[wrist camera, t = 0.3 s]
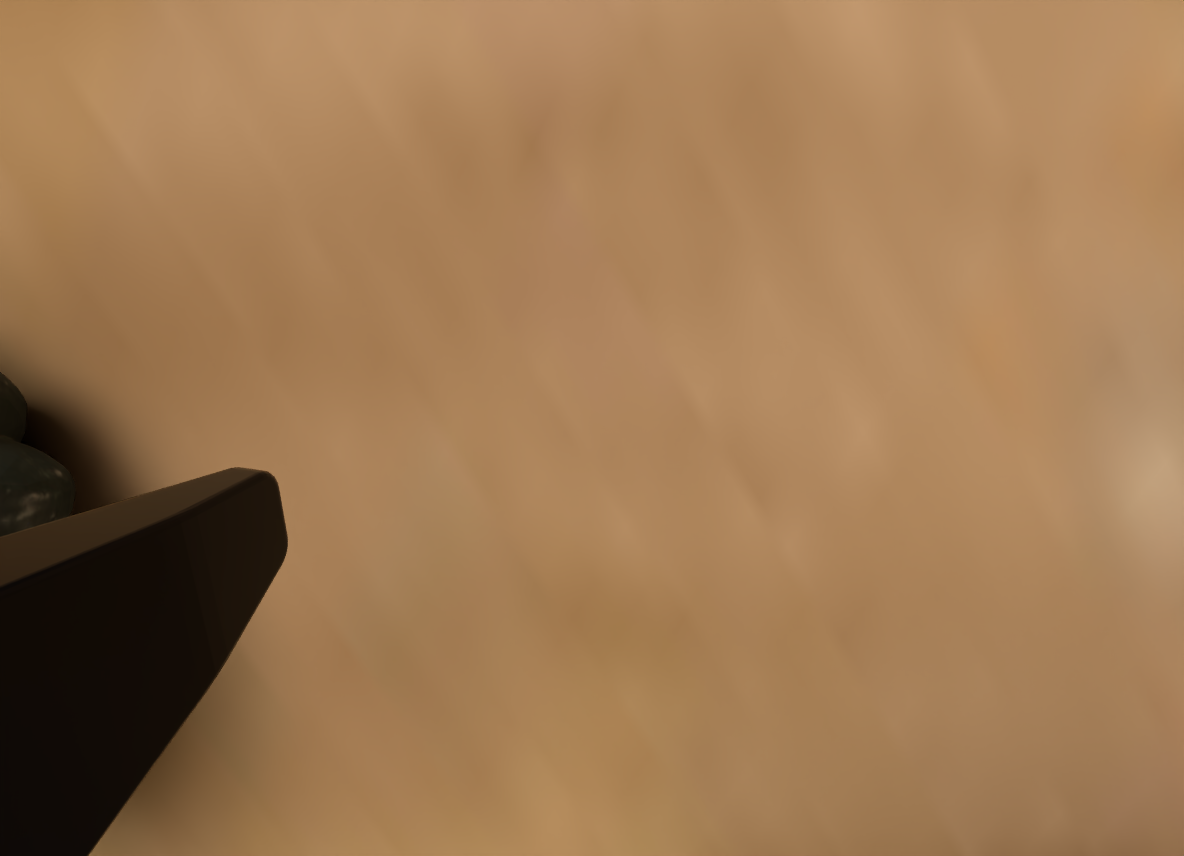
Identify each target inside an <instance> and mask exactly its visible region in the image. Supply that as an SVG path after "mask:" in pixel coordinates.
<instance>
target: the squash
mask: <svg viewBox="0 0 1184 856" xmlns="http://www.w3.org/2000/svg"><path fill="white" fill-rule="evenodd" d="M26 412H27V404H26V402H25V399H24V397H23V395H22V394H21V393H20V391H19V390H18V388H17V387H16V386H15V385H14V384H13V383H12V382H11V381H10V380H9V379H8V378H7V377H5V376H4V375H3V374H2V373H1V372H0V537H2V536H6V535H9V534H12V533H16V532H19V531H22V530H26V529H29V528H32V527H36V526H39V525H42V524H46V523H49V522H52V521H56V520H59V519H62V518H66V517H68V516H69V515H70V513H71V511H72V509H73V503H74V498H75V482H74V480H73V478H72V476H71V473H70V472H69V471H68V470H67V469H66V468H65V467H64V466H63V465H62V464H60V463H59V462H57V461H56V460H54V459H53V458H51V457H50V456H48V455H47V454H45V453H44V452H42V451H39V450H37V449H35V448H33V447H31V446H28V445H25V444H22V443H21V441H22V439H23V436H24V434H25V430H26Z"/></svg>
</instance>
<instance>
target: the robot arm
mask: <svg viewBox="0 0 1184 856" xmlns="http://www.w3.org/2000/svg"><path fill="white" fill-rule="evenodd" d="M287 547H288V537H287V531H286V525H285V519H284V514H283V508H282V502H281V497H280V491H279V486H278V482H277V481H276V479H275V477H274V476H273V475H272V474H271V473H269V472H267V471H262V470H255V469H248V468H240V467H235V468H230V469H226V470H223V471H220V472H216V473H213V474H210V475H206V476H203V477H200V478H196V479H193V480H190V481H186V482H183V483H179V484H176V485H173V486H169V487H166V488H163V489H159V490H156V491H153V492H149V493H146V494H143V495H139V496H136V497H133V498H129V499H126V500H123V501H119V502H116V503H113V504H109V505H106V506H103V507H99V508H96V509H93V510H89V511H86V512H83V513H79V514H76V515H72V516H69V517H66V518H62V519H59V520H56V521H52V522H49V523H46V524H42V525H39V526H36V527H32V528H29V529H26V530H22V531H19V532H16V533H12V534H9V535H6V536H2V537H0V856H89V854H90V853H91V852H92V850H93V849H94V847H95V846H96V845H97V843H98V842H99V840H100V839H101V838H102V836H103V835H104V833H105V832H106V831H107V829H108V828H109V827H110V825H111V824H112V822H113V821H114V820H115V818H116V817H117V815H118V814H119V813H120V811H121V810H122V808H123V807H124V806H125V804H126V803H127V802H128V800H129V799H130V797H131V796H132V795H133V793H134V792H135V790H136V789H137V788H138V786H139V785H140V783H141V782H142V781H143V779H144V778H145V777H146V775H147V774H148V772H149V771H150V770H151V768H152V767H153V765H154V764H155V763H156V761H157V760H158V758H159V757H160V756H161V754H162V753H163V752H164V750H165V749H166V747H167V746H168V745H169V743H170V742H171V740H172V739H173V738H174V736H175V735H176V733H177V732H178V731H179V729H180V728H181V727H182V725H183V724H184V722H185V721H186V720H187V718H188V717H189V715H190V714H191V713H192V711H193V710H194V708H195V707H196V706H197V704H198V703H199V702H200V700H201V699H202V697H203V696H204V694H205V693H206V692H207V690H208V689H209V687H210V686H211V684H212V683H213V681H214V680H215V678H216V677H217V675H218V674H219V672H220V670H221V669H222V667H223V665H224V664H225V662H226V661H227V659H228V657H229V656H230V654H231V652H232V650H233V649H234V647H235V645H236V644H237V642H238V640H239V638H240V637H241V635H242V633H243V631H244V630H245V628H246V626H247V624H248V623H249V621H250V619H251V617H252V616H253V614H254V612H255V610H256V609H257V607H258V605H259V604H260V602H261V600H262V598H263V597H264V595H265V593H266V591H267V590H268V588H269V586H270V584H271V583H272V581H273V579H274V577H275V576H276V574H277V572H278V570H279V569H280V567H281V565H282V563H283V561H284V559H285V556H286V552H287Z"/></svg>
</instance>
